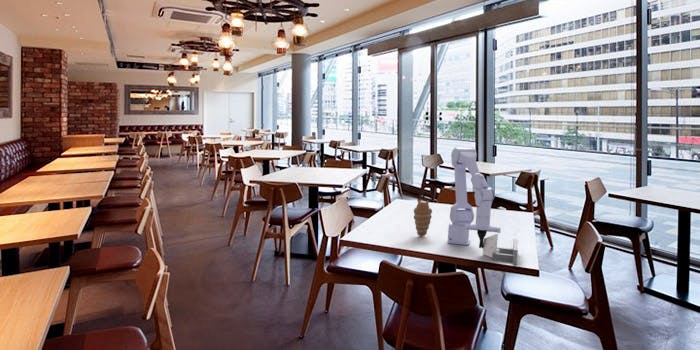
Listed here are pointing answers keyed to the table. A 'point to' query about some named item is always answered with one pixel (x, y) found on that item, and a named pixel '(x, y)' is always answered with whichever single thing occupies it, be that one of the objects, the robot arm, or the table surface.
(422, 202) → the cat ice cream
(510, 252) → the socket bay
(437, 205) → the table surface
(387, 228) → the table surface
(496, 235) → the white wedge bracket
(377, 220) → the table surface
